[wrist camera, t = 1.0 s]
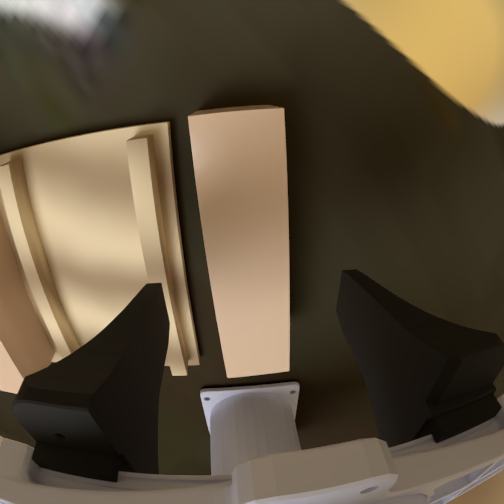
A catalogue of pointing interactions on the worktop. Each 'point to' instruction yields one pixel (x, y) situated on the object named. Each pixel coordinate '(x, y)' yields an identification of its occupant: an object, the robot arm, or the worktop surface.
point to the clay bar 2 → (246, 232)
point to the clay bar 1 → (18, 325)
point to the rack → (98, 233)
